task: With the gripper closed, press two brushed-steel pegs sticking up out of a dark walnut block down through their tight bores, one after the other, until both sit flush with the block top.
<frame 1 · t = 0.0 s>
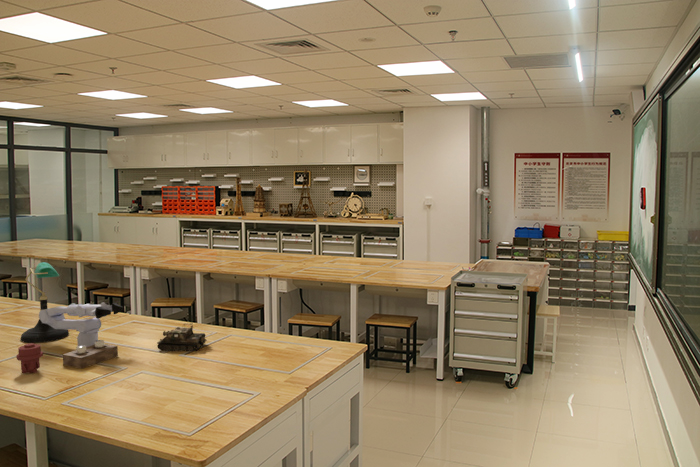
hand: (116, 310, 253), 22 cm above the table, tool horizontal, fingers open, 7 cm apart
mechanical component: (30, 372, 230), on the table
model tank: (183, 348, 266), on the table
peg b: (99, 345, 249), point 6 cm above the table, slide at 0.0 cm
peg a: (81, 351, 240), point 6 cm above the table, slide at 0.0 cm
banker's lamp: (45, 337, 285), on the table
walnut block: (91, 360, 245), on the table
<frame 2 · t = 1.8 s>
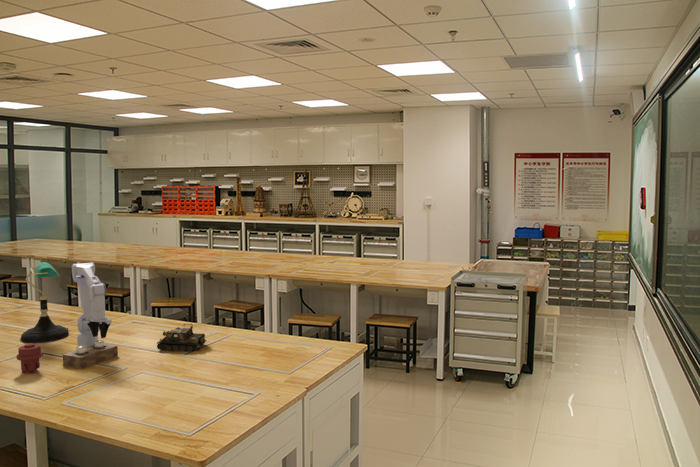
hand: (99, 337, 249), 10 cm above the table, tool pointing down, fingers open, 5 cm apart
nothing on the table moved.
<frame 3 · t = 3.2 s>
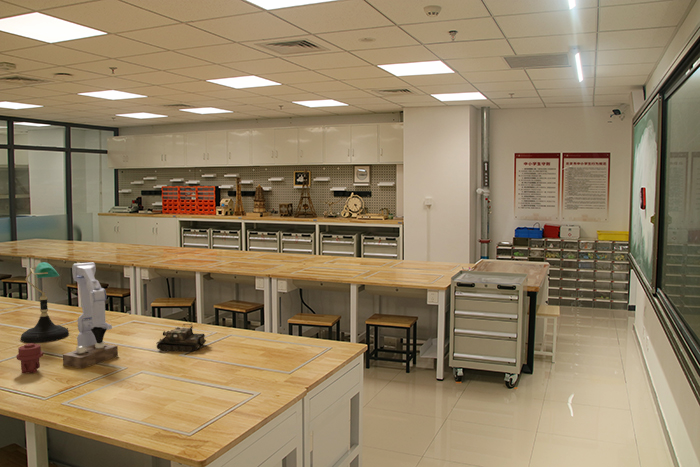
hand: (99, 342, 249), 7 cm above the table, tool pointing down, fingers closed, pressing on peg b
peg b: (99, 347, 249), point 5 cm above the table, slide at 0.7 cm, touching gripper
everything else where it was.
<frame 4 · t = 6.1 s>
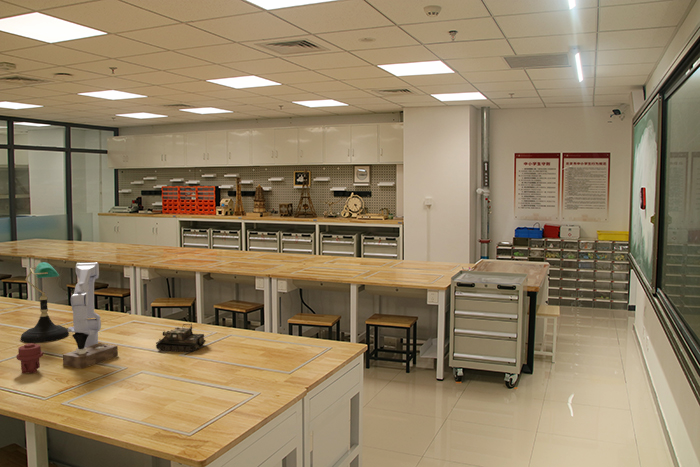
hand: (81, 348, 240), 7 cm above the table, tool pointing down, fingers closed, pressing on peg a
peg b: (100, 352, 250), point 3 cm above the table, slide at 3.1 cm
peg a: (81, 353, 240), point 5 cm above the table, slide at 0.8 cm, touching gripper
everything else where it was.
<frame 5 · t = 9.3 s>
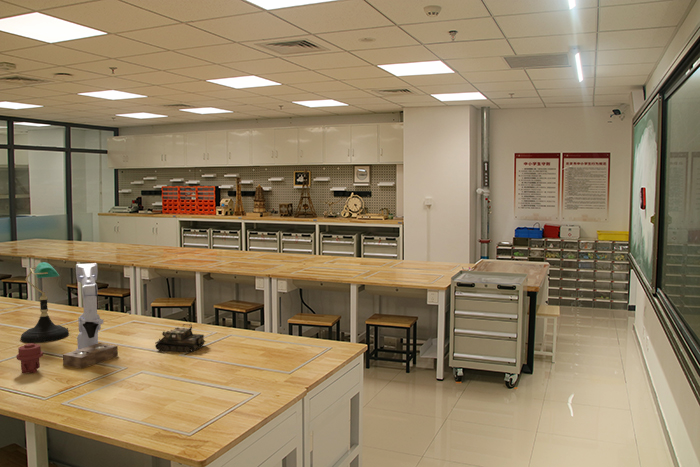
hand: (91, 337, 248), 10 cm above the table, tool pointing down, fingers closed
peg a: (81, 358, 241), point 3 cm above the table, slide at 3.1 cm
at the end: peg b slide at 3.1 cm; peg a slide at 3.1 cm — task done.
